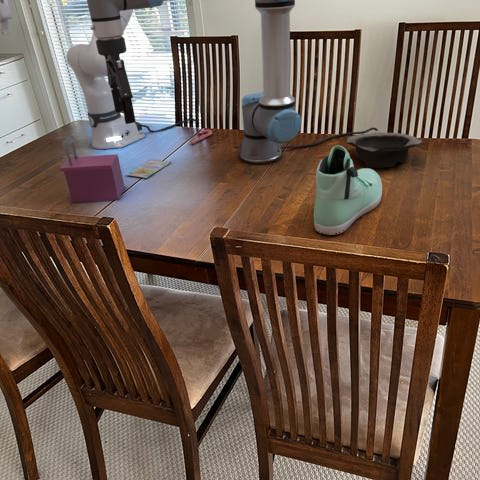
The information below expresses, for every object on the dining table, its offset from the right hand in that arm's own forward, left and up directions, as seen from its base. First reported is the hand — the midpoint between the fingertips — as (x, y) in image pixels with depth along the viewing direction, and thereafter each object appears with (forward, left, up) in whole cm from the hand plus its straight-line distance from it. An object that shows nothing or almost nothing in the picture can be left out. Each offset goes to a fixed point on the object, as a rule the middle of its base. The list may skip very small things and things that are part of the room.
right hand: (125, 116), depth 138 cm
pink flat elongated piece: (-37, -45, -28) cm, 65 cm away
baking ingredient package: (-9, -25, -28) cm, 38 cm away
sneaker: (-52, +37, -28) cm, 70 cm away
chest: (+11, -13, -28) cm, 33 cm away
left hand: (+27, -52, +20) cm, 62 cm away
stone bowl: (-83, +13, -28) cm, 88 cm away
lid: (+12, -14, -17) cm, 25 cm away
